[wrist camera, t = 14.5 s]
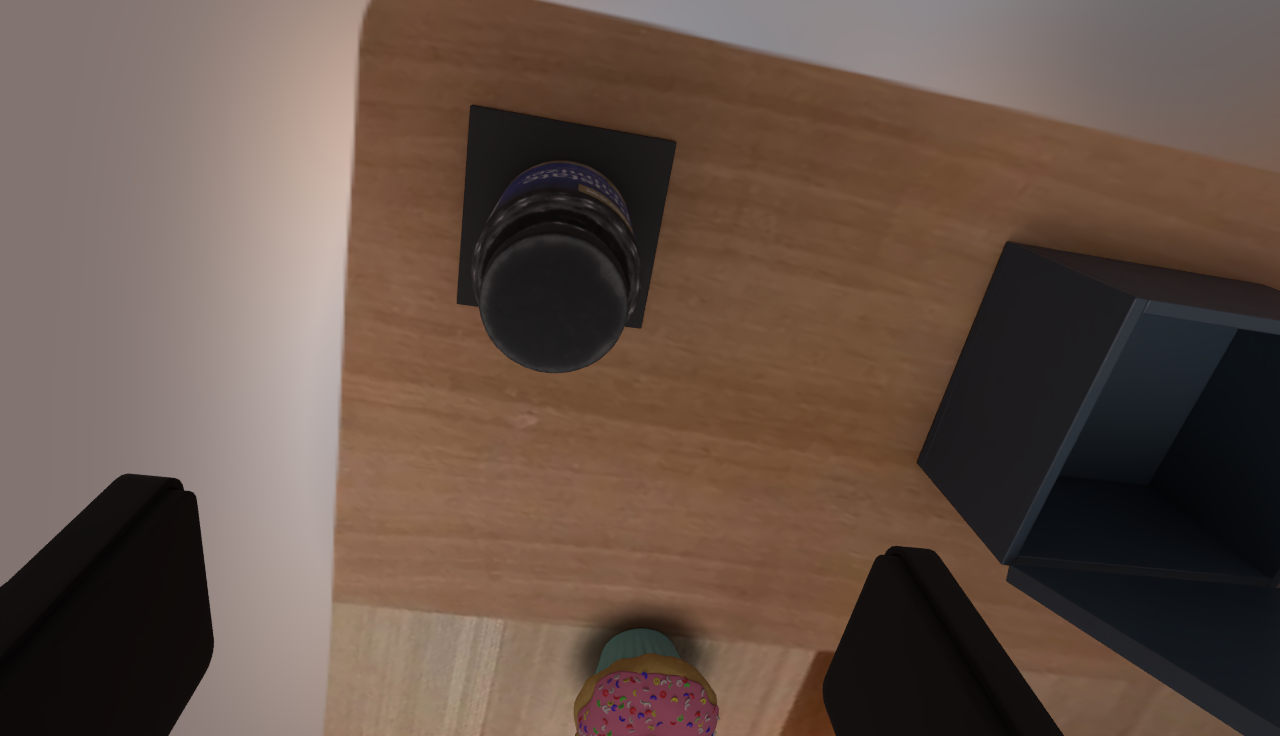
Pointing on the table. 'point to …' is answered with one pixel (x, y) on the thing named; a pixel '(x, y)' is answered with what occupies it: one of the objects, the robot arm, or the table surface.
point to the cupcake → (645, 691)
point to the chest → (1117, 420)
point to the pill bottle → (557, 267)
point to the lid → (1179, 634)
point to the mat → (527, 141)
